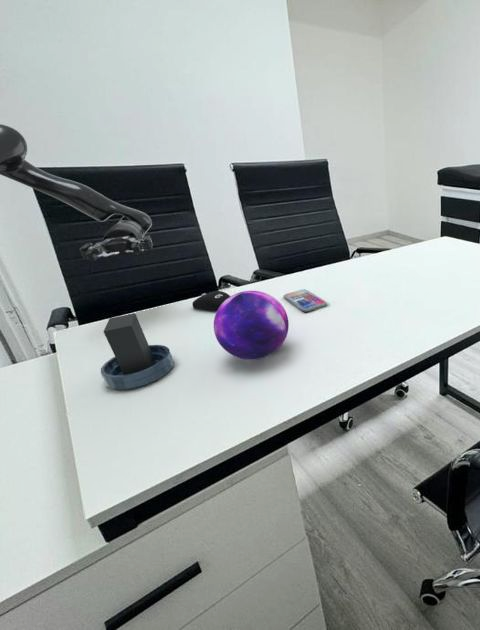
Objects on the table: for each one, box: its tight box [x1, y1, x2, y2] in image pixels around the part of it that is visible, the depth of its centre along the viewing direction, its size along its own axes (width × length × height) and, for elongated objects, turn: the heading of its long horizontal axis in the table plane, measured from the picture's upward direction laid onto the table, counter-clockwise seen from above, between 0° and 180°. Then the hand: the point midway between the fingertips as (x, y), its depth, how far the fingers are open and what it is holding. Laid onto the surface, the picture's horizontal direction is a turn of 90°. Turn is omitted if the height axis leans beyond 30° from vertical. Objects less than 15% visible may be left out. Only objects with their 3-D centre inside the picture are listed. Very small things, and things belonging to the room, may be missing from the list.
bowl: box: [100, 344, 175, 390], centre depth 82 cm, size 12×12×4 cm
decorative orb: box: [213, 290, 290, 360], centre depth 84 cm, size 15×15×15 cm
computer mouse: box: [191, 290, 232, 312], centre depth 112 cm, size 8×12×4 cm, turn 70°
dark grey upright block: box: [102, 312, 155, 375], centre depth 80 cm, size 4×6×12 cm
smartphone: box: [283, 288, 328, 313], centre depth 113 cm, size 7×1×15 cm
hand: (113, 253), depth 91 cm, fingers open, 8 cm apart
